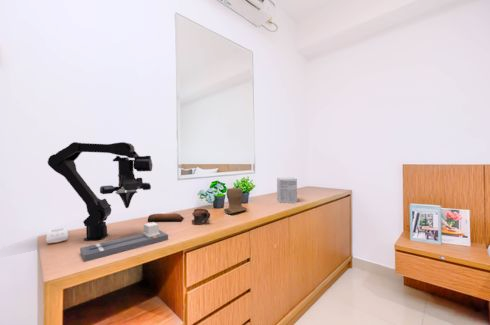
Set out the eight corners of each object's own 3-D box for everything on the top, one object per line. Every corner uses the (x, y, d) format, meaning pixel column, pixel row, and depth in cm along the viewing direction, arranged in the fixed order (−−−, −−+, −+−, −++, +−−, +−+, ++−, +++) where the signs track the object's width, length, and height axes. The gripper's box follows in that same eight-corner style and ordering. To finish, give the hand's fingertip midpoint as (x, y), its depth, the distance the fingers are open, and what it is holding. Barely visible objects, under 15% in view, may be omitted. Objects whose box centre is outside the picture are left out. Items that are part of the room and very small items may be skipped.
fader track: (84, 261, 72) (84, 255, 72) (80, 253, 79) (80, 247, 79) (168, 239, 92) (168, 234, 92) (159, 234, 98) (159, 229, 98)
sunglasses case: (185, 217, 126) (183, 208, 123) (182, 227, 120) (180, 218, 117) (153, 217, 126) (151, 209, 123) (149, 227, 120) (146, 218, 117)
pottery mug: (186, 225, 114) (188, 209, 118) (199, 229, 120) (201, 213, 124) (203, 222, 107) (205, 205, 112) (216, 226, 114) (218, 210, 118)
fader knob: (148, 237, 88) (148, 227, 87) (142, 233, 92) (142, 223, 92) (159, 235, 91) (159, 224, 90) (153, 231, 95) (153, 221, 95)
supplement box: (297, 202, 164) (297, 178, 164) (279, 203, 164) (279, 179, 164) (293, 199, 177) (293, 177, 177) (277, 199, 177) (276, 177, 177)
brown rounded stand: (236, 208, 148) (235, 185, 147) (249, 211, 140) (249, 187, 139) (218, 212, 136) (218, 188, 136) (232, 216, 128) (231, 189, 128)
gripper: (105, 173, 85) (106, 215, 85) (155, 171, 97) (155, 207, 97) (99, 172, 93) (100, 210, 93) (145, 170, 105) (146, 203, 106)
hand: (126, 207), depth 97 cm, fingers closed
